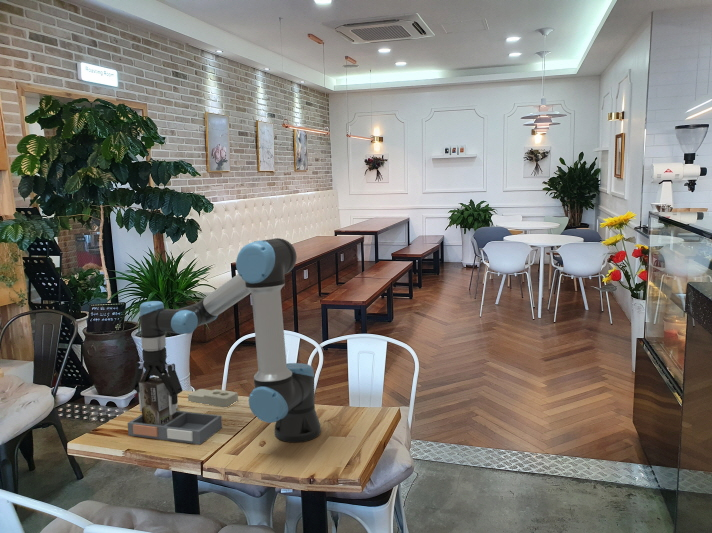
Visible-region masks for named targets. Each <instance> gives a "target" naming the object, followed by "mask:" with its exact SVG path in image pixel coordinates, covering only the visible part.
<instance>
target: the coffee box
mask: <svg viewBox="0 0 712 533" xmlns="http://www.w3.org/2000/svg"><path fill="white" fill-rule="evenodd" d="M139 389H140V399H141V408H142V411H141V415H142V418H143V423H144V424H152V425H160V426H164V425H165V424H167V423H168V422H170V421H172V420H173V419H174V414H172V415H170V412H169V395H171V394H170V393H169V391H168V389H167V388H166V386H165V384H164V383H163V381H162V380H161V379H160V378H158V377H153V376H150V378H149V379H148V380H146V381H145V382H139Z"/></svg>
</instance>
